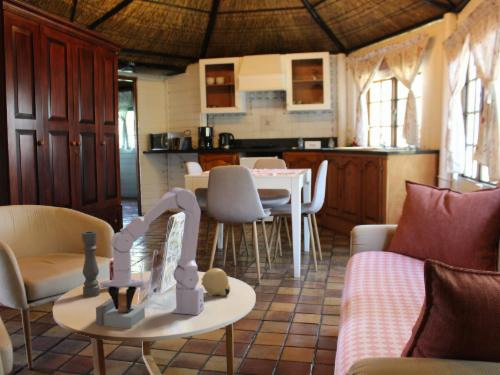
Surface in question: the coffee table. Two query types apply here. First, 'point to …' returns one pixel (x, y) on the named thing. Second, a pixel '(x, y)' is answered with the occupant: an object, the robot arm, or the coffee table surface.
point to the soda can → (111, 269)
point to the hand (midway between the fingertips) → (123, 308)
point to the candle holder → (90, 265)
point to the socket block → (124, 317)
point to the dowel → (122, 303)
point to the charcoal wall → (103, 311)
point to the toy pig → (216, 282)
